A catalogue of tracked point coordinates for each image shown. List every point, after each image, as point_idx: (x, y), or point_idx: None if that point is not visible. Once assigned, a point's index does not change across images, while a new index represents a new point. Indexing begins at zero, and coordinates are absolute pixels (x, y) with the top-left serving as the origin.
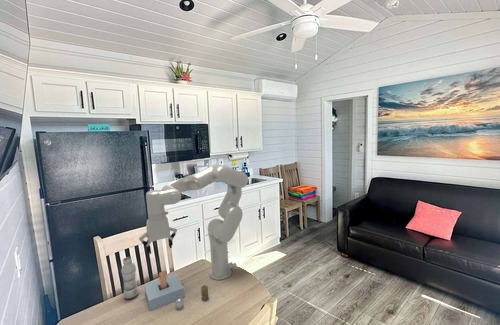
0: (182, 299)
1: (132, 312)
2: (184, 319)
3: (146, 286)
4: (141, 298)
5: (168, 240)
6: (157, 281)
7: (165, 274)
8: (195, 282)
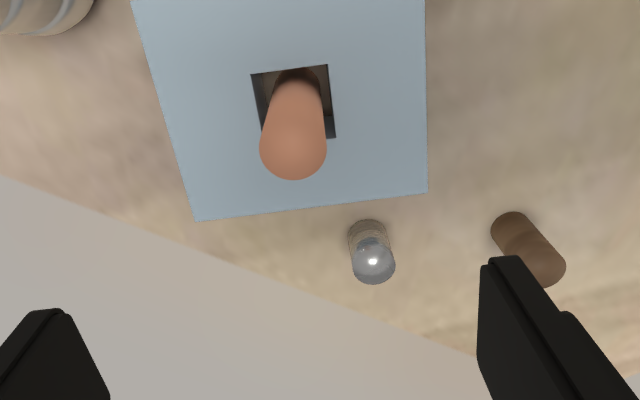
0: (391, 273)
1: (108, 161)
2: (370, 311)
3: (156, 41)
4: (139, 43)
5: (547, 383)
6: (247, 7)
7: (319, 164)
8: (531, 36)
